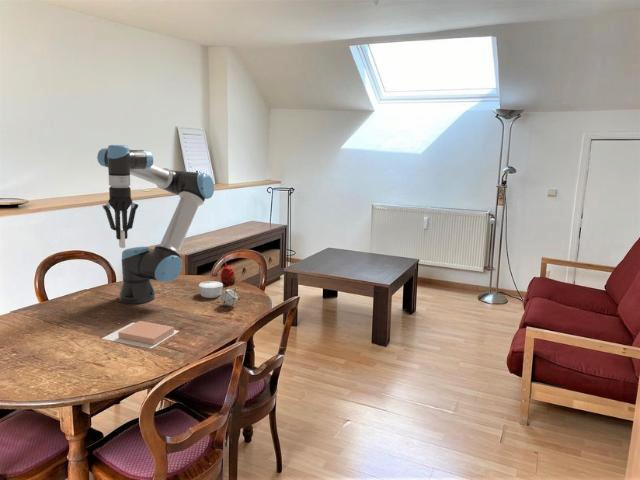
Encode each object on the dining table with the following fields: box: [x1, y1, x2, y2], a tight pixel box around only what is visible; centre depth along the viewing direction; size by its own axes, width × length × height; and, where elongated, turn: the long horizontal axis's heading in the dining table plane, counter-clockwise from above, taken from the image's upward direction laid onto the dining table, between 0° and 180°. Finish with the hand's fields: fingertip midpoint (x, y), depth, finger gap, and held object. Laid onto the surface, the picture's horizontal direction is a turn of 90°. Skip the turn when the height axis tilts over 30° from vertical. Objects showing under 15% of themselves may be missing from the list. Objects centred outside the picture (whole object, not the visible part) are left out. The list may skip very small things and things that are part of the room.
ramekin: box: [198, 280, 224, 299], centre depth 230 cm, size 11×11×5 cm
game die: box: [217, 287, 241, 309], centre depth 216 cm, size 9×8×10 cm
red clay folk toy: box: [220, 254, 236, 286], centre depth 247 cm, size 8×7×15 cm
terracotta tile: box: [118, 320, 175, 345], centre depth 180 cm, size 12×2×15 cm
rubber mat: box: [101, 322, 180, 349], centre depth 181 cm, size 21×17×1 cm
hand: (122, 247), depth 191 cm, fingers closed
